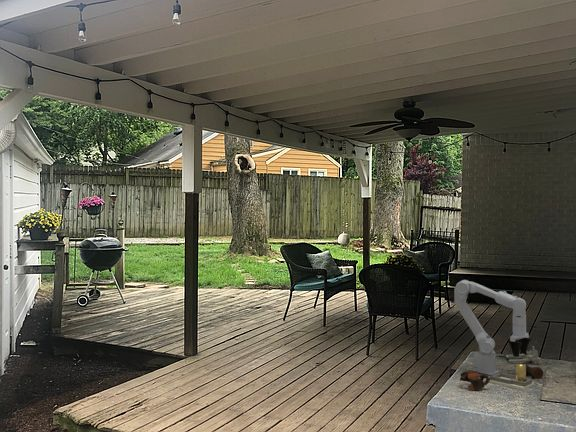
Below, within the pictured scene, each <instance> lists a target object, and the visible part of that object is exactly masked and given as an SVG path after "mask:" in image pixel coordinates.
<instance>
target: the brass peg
mask: <svg viewBox="0 0 576 432" xmlns="http://www.w3.org/2000/svg"><path fill="white" fill-rule="evenodd" d="M522 363H523V362H515V365H516V368H515V376H516V381H521V382H524V381H526V378H527V373H526V365H525V364H522Z"/></svg>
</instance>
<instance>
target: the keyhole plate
mask: <svg viewBox="0 0 576 432" xmlns="http://www.w3.org/2000/svg"><path fill="white" fill-rule="evenodd" d="M489 378H490V381H489V383H490V384H493V385H494V384H495V385H498V386H502V387H503V386H504V387H508V388H513V389H517V390H521V391H524V390H525V389H527V388H529V387H530V388H531V386H534V385H535V382H534V381H533V378H531V379H530V378H527V377H526V381H524V382H521V381H516V374H509V373H505V372H498V373H496V374H493V375H489ZM489 383H488V384H489Z"/></svg>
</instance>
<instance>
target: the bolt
mask: <svg viewBox="0 0 576 432" xmlns="http://www.w3.org/2000/svg"><path fill="white" fill-rule="evenodd" d="M521 363H522V364H525V365H526V374H528V375H531V377H532V379H534V380H540V379H542V378H543V376H544V371H543V369H542V368H541V367H540V366H533V367H532V366H530V365H528V363H525V362H521ZM514 367H515V369H516V364H515V365H514Z"/></svg>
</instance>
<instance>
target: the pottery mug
mask: <svg viewBox="0 0 576 432" xmlns="http://www.w3.org/2000/svg"><path fill="white" fill-rule="evenodd" d="M459 375H460V378H459V381H460V382H461V381H462V382H468V383H470V384H468V386H467V388H468V390H469V392H471V391H482V390H483V388H485V386H487V385H488V384H489V381H490V375H488V374H483V373H482V374H479V373H478V371H473V370H469V371H463V372H461V373H460V374H459ZM484 380H485V381H484Z"/></svg>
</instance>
